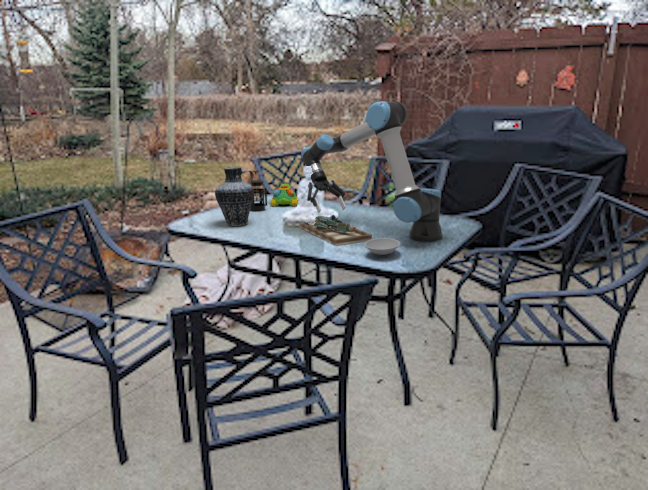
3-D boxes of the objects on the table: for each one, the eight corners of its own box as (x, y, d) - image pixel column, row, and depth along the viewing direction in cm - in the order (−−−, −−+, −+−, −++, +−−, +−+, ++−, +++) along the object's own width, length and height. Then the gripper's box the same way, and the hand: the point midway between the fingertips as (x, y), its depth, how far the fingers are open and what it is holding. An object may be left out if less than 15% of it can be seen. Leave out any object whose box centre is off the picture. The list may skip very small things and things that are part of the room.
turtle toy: (299, 200, 320) (298, 182, 317) (297, 207, 298) (297, 188, 295) (272, 200, 320) (272, 182, 317) (269, 208, 298) (268, 188, 294)
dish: (390, 263, 198) (390, 251, 196) (357, 258, 204) (357, 246, 203) (405, 251, 213) (406, 240, 211) (374, 247, 219) (374, 236, 218)
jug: (228, 231, 246) (225, 170, 238) (210, 224, 261) (206, 166, 252) (264, 224, 259) (261, 166, 250) (244, 218, 273) (241, 163, 265)
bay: (371, 240, 230) (371, 234, 229) (336, 245, 221) (336, 240, 220) (332, 223, 261) (332, 218, 260) (299, 227, 252) (299, 222, 252)
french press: (245, 210, 291) (243, 171, 284) (253, 207, 299) (251, 169, 292) (262, 212, 286) (261, 172, 279) (270, 209, 294) (269, 170, 288)
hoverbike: (322, 225, 252) (321, 209, 249) (361, 234, 236) (361, 217, 234) (309, 229, 245) (308, 213, 243) (348, 238, 229) (349, 220, 227)
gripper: (336, 177, 256) (351, 211, 247) (292, 181, 244) (306, 217, 236) (341, 168, 250) (357, 202, 241) (296, 171, 238) (311, 208, 230)
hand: (332, 210), depth 239 cm, fingers open, 13 cm apart
